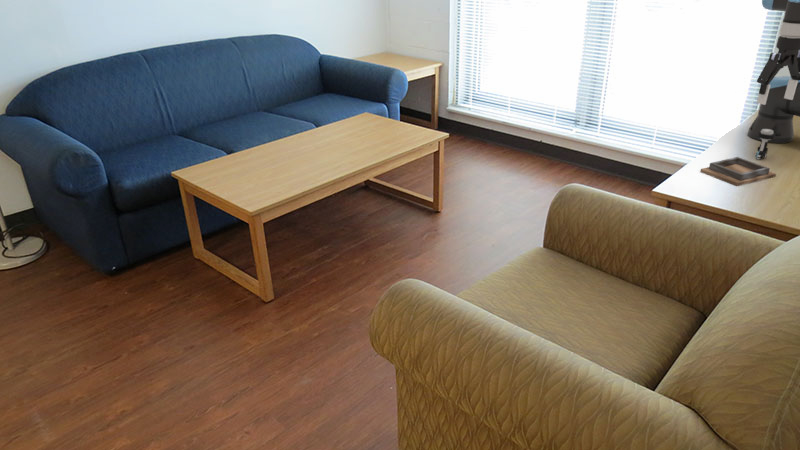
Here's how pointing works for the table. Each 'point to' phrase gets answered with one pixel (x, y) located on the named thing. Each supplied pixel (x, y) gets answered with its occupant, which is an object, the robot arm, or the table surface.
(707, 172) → the dock
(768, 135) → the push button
